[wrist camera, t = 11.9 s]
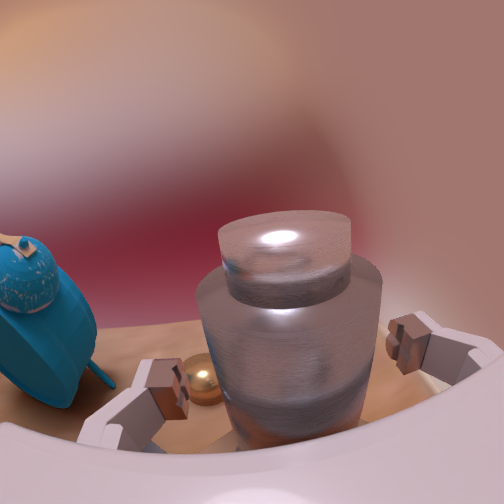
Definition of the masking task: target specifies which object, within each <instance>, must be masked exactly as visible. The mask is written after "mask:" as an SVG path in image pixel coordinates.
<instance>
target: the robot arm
mask: <svg viewBox="0 0 504 504" xmlns="http://www.w3.org/2000/svg"><path fill="white" fill-rule="evenodd" d="M388 330H389V331H390V333H389V335H388V336H387V338H386V351H387V353H388V355H389V356H390V358H391V359H393V360H396V361H397V363H396V366H397V367H398V368H399V370H400V371H401V372H402V374H403V375H406V374H409V373H411V372H414V371H417V370H419V369H421V370H422V371H424V372H426V373H428V374H430V375H432V376H434V377H436V378H438V379H440V380H442V381H444V382H446V383H448V384H450V385H452V387H450V388H448V389H446V390H444V391H442V392H440V393H439V394H437V395H435V396H433V397H431V398H429V399H427V400H424V401H422V402H420V403H418V404H416V405H414V406H411V407H409V408H407V409H405V410H402V411H400V412H397V413H395V414H393V415H390V416H387V417H385V418H382V419H380V420H377V421H374V422H371V423H368V424H365V425H362V426H359V427H356V428H353V429H350V430H347V431H343V432H340V433H336V434H333V435H329V436H325V437H321V438H317V439H313V440H308V441H304V442H299V443H294V444H289V445H283V446H278V447H271V448H265V449H257V450H249V451H240V452H228V453H212V454H160V453H144V452H141V450H142V449H143V448H144V447H145V446H146V445H147V443H148V442H149V441H150V440H151V439H152V437H153V436H154V435H155V434H156V433H157V431H158V430H159V429H160V428H161V427H162V425H163V424H164V423H165V422H166V421H165V420H186V419H187V418H188V409H189V406H188V403H187V400H188V399H189V398H190V384H189V379H188V376H187V374H185V373H184V372H183V368H184V365H183V363H182V360H181V359H180V358H169V359H143V360H142V361H141V362H140V364H139V367H138V369H137V372H136V375H135V377H134V380H133V383H132V386H131V388H126V389H125V390H124V391H123V392H121V393H120V394H119V395H117V396H116V397H115V398H113V399H112V400H111V401H109V402H108V403H107V404H106V405H104V406H103V407H102V408H100V409H99V410H98V411H96V412H95V413H94V414H92V415H91V416H90V417H88V418H87V419H86V420H85V422H84V424H83V427H82V429H81V432H80V434H79V437H78V439H77V442H72V441H68V440H64V439H60V438H56V437H52V436H49V435H45V434H42V433H39V432H35V431H32V430H29V429H26V428H24V427H21V426H19V425H16V424H13V423H10V422H3V423H0V504H504V351H502V350H501V349H500V348H499V347H498V346H497V345H495V344H494V343H493V342H492V341H491V340H490V339H487V338H483V337H479V336H475V335H472V334H468V333H464V332H460V331H457V330H453V329H449V328H442V327H440V326H439V325H438V324H437V323H436V322H435V321H434V320H433V319H431V318H430V317H429V316H428V315H427V314H426V313H424V312H423V311H420V310H419V311H416V312H413V313H411V314H409V315H405V316H402V317H399V318H396V319H393V320H390V322H389V325H388Z"/></svg>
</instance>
